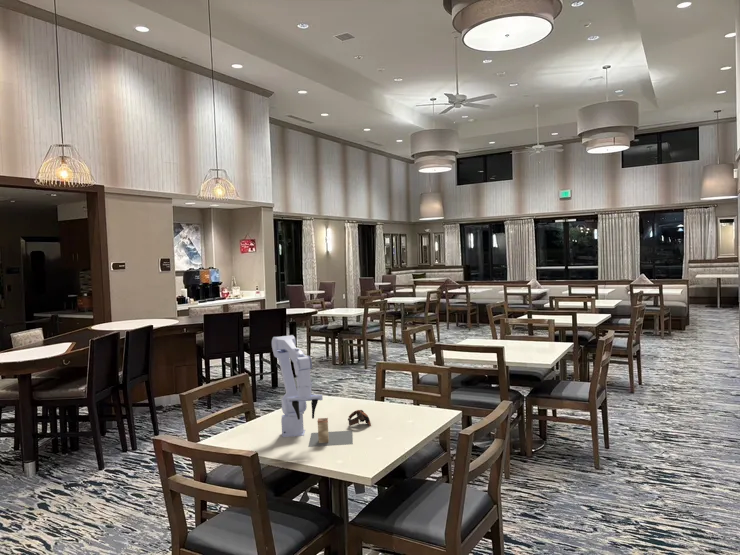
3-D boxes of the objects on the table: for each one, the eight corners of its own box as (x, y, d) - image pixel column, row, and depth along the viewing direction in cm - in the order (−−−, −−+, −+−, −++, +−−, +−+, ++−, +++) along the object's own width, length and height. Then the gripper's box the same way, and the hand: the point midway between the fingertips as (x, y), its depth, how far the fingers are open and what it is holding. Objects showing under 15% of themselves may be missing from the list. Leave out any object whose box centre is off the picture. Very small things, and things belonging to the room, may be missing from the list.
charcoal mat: (308, 447, 217) (308, 446, 217) (311, 433, 235) (311, 432, 235) (352, 445, 217) (352, 444, 217) (352, 431, 235) (352, 430, 235)
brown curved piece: (372, 430, 238) (362, 415, 236) (354, 439, 239) (344, 424, 238) (373, 415, 249) (364, 401, 247) (356, 424, 251) (346, 410, 249)
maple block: (318, 443, 221) (317, 421, 221) (319, 439, 225) (318, 418, 225) (328, 442, 221) (327, 420, 221) (328, 439, 225) (327, 417, 225)
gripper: (285, 388, 218) (287, 422, 218) (321, 386, 218) (323, 419, 218) (287, 385, 225) (289, 417, 225) (322, 383, 225) (323, 415, 225)
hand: (306, 418), depth 222 cm, fingers open, 5 cm apart
